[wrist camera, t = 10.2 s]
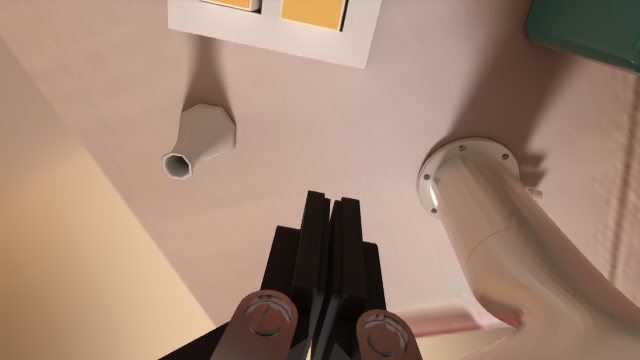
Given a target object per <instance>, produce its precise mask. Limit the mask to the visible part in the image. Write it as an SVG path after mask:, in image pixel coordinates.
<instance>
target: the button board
mask: <svg viewBox="0 0 640 360" xmlns="http://www.w3.org/2000/svg"><path fill="white" fill-rule="evenodd" d="M381 2H382V0H346V1H345V5H344V10H343V15H342V20H341V25H340V30H339V33H338V32H334V31H329V30H324V29H320V28H315V27H311V26H306V25H301V24H297V23H292V22H287V21H283V20H279V16H280V7H281V0H262V8H260V9H256V10H253V11H248V10H243V9H238V8H234V7H229V6H224V5H220V4H215V3H210V2H206V1H201V0H168V26H169V28H170V29H175V30H179V31H184V32H189V33H194V34H198V35H203V36H208V37H213V38H217V39H222V40H227V41H232V42H236V43H241V44H246V45H251V46H255V47H260V48H265V49H270V50H274V51H279V52H284V53H289V54H293V55H298V56H303V57H308V58H312V59H317V60H322V61H327V62H331V63H336V64H341V65H346V66H350V67H355V68H360V69H365V66H366V62H367V58H368V54H369V50H370V46H371V42H372V38H373V34H374V30H375V26H376V22H377V18H378V14H379V10H380V6H381Z"/></svg>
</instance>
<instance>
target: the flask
mask: <svg viewBox="0 0 640 360" xmlns="http://www.w3.org/2000/svg"><path fill="white" fill-rule="evenodd" d="M235 135H236V126H235V125H234V123H233V122H232V120H231V119H230V117H229V116H228V114H227V113H226V111H225V110H224V108H223V107H219V106H213V105H208V104H202V103H198V104H197V105H195V106H193V107H191V108H189V109H187V110H186V111H184V112H182V113H181V116H180V126H179V133H178V138H177V142H176V145H175V147H174V149H173V150H172V151H171V152H169V153H167V154H165V155H164V156H162V168H163V169H164V170H165V172H166V173H167V174H168V175H169V177H170V178H176V179H184V178H187V177H189V176H191V175H192V174H193V168H194V167H195V166H196V164H198V163H199V162H201V161H203V160H206V159H209V158H213V157H216V156H218V155H220V154H222V153H224V152H226V151H229V150H231V149H233V148H235Z"/></svg>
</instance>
